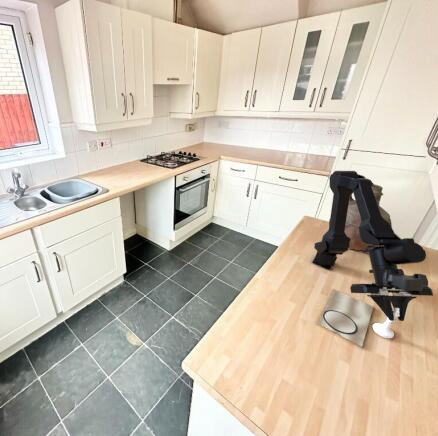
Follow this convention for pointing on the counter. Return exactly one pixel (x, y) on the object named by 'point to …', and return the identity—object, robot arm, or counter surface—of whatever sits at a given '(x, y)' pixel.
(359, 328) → the grey plate with ring
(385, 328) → the chess piece
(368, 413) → the counter surface
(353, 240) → the jug
